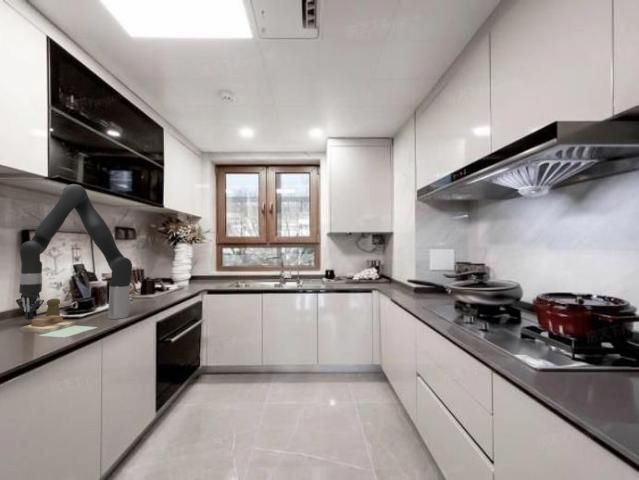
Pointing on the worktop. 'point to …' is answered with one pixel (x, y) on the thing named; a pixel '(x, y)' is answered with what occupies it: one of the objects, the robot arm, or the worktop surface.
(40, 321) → the walnut tile
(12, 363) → the worktop surface
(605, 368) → the worktop surface
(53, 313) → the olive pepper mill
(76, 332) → the sage mat
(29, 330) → the birch deck
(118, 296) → the robot arm
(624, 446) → the worktop surface
